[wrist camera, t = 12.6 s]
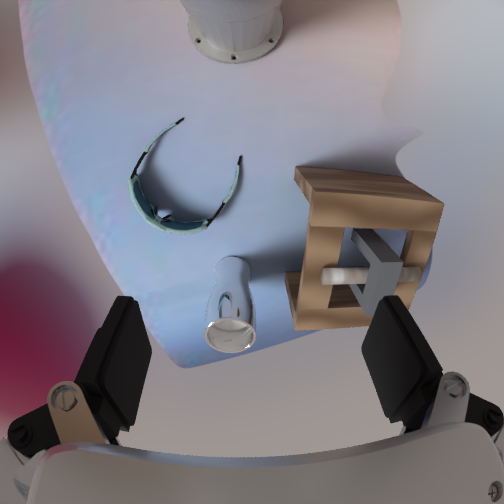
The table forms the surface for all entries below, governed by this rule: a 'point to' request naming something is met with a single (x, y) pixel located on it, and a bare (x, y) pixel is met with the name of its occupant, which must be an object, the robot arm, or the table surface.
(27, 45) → the table surface
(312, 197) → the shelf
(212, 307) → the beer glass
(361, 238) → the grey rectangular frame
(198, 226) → the sunglasses
